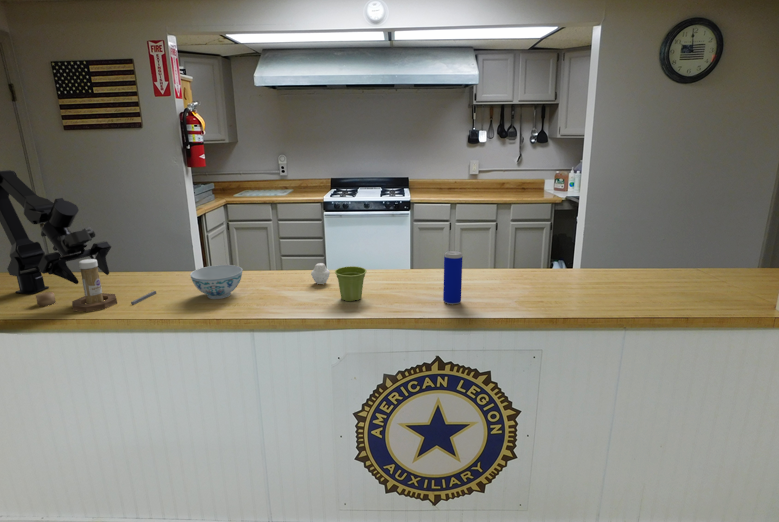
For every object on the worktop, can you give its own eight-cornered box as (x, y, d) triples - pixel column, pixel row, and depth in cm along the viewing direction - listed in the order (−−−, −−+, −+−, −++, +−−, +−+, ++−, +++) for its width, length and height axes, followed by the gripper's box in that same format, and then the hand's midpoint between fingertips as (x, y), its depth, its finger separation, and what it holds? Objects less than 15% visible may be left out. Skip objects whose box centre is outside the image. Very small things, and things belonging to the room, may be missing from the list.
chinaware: (210, 286, 156) (208, 263, 154) (253, 289, 153) (251, 265, 151) (182, 302, 142) (179, 277, 140) (228, 305, 139) (226, 280, 137)
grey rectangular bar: (133, 304, 140) (133, 302, 140) (131, 304, 140) (130, 301, 140) (156, 293, 150) (156, 291, 150) (154, 293, 150) (153, 290, 150)
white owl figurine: (329, 286, 155) (328, 265, 153) (310, 286, 155) (309, 265, 153) (331, 280, 161) (330, 260, 159) (313, 280, 161) (312, 260, 159)
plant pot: (372, 295, 146) (371, 268, 144) (357, 305, 138) (356, 277, 136) (345, 291, 150) (344, 264, 148) (330, 301, 142) (328, 273, 139)
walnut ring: (63, 310, 137) (62, 305, 136) (94, 297, 147) (93, 292, 147) (96, 312, 134) (95, 307, 134) (125, 299, 145) (124, 294, 144)
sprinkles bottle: (100, 306, 139) (92, 262, 135) (83, 307, 138) (75, 263, 135) (107, 301, 143) (99, 258, 140) (90, 301, 143) (82, 258, 139)
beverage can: (462, 300, 141) (464, 251, 137) (459, 306, 137) (460, 255, 133) (445, 298, 143) (446, 249, 139) (441, 304, 138) (442, 254, 134)
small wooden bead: (34, 307, 139) (32, 297, 139) (42, 301, 144) (40, 292, 143) (51, 306, 140) (49, 296, 139) (58, 301, 144) (56, 291, 143)
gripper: (35, 226, 127) (69, 270, 126) (101, 214, 144) (132, 253, 142) (24, 251, 133) (57, 294, 131) (89, 237, 149) (119, 275, 148)
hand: (93, 278), depth 138 cm, fingers open, 9 cm apart
